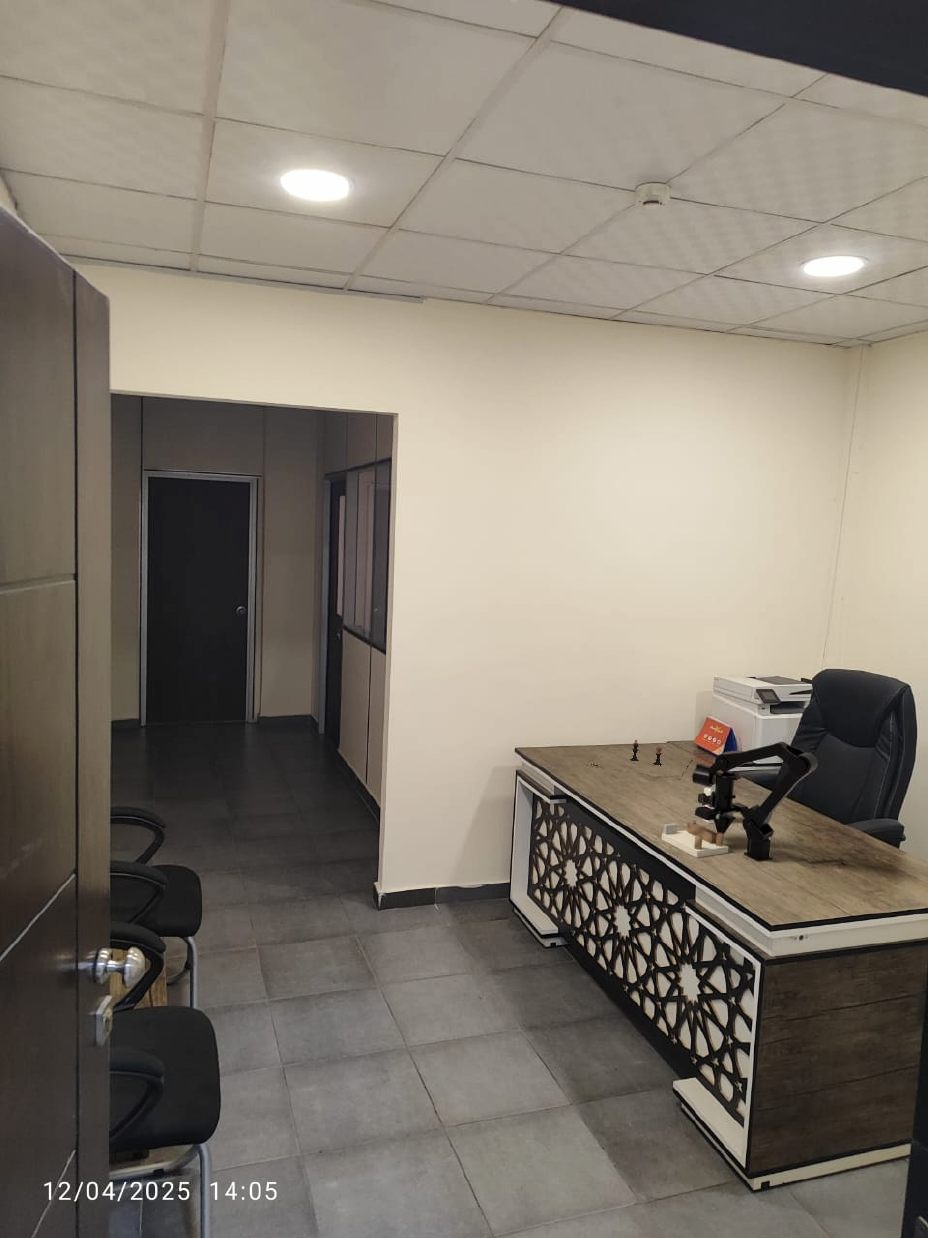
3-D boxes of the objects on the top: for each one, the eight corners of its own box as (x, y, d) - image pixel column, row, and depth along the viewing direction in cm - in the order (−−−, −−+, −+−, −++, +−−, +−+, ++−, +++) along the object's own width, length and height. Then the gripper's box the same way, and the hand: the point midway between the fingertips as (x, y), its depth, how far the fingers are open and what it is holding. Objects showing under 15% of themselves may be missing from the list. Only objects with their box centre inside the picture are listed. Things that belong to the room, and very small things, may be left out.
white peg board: (727, 852, 275) (729, 834, 275) (696, 857, 269) (698, 839, 269) (691, 835, 290) (693, 818, 290) (661, 839, 284) (662, 821, 284)
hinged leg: (687, 831, 287) (688, 820, 287) (692, 830, 288) (693, 819, 288) (711, 843, 277) (712, 831, 276) (717, 842, 278) (718, 830, 277)
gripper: (728, 781, 291) (724, 825, 293) (685, 785, 283) (681, 831, 284) (752, 790, 281) (748, 836, 283) (708, 795, 273) (704, 843, 274)
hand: (720, 836), depth 281 cm, fingers closed
